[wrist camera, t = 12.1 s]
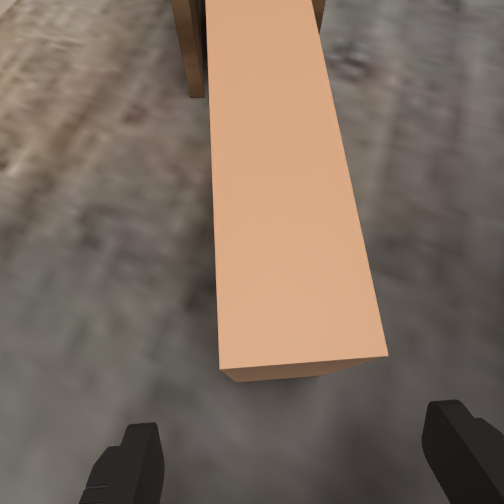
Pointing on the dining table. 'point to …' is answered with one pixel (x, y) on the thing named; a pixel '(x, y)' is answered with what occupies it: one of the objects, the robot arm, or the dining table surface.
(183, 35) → the tunnel
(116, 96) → the dining table surface
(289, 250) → the wooden drawer block
